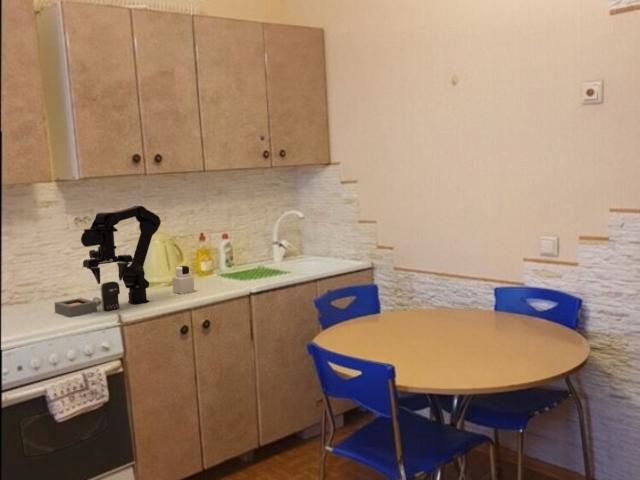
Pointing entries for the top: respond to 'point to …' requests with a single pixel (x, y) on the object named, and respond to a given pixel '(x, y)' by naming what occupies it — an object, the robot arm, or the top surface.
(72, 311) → the grey open box
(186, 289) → the grey stepped upright block
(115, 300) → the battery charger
